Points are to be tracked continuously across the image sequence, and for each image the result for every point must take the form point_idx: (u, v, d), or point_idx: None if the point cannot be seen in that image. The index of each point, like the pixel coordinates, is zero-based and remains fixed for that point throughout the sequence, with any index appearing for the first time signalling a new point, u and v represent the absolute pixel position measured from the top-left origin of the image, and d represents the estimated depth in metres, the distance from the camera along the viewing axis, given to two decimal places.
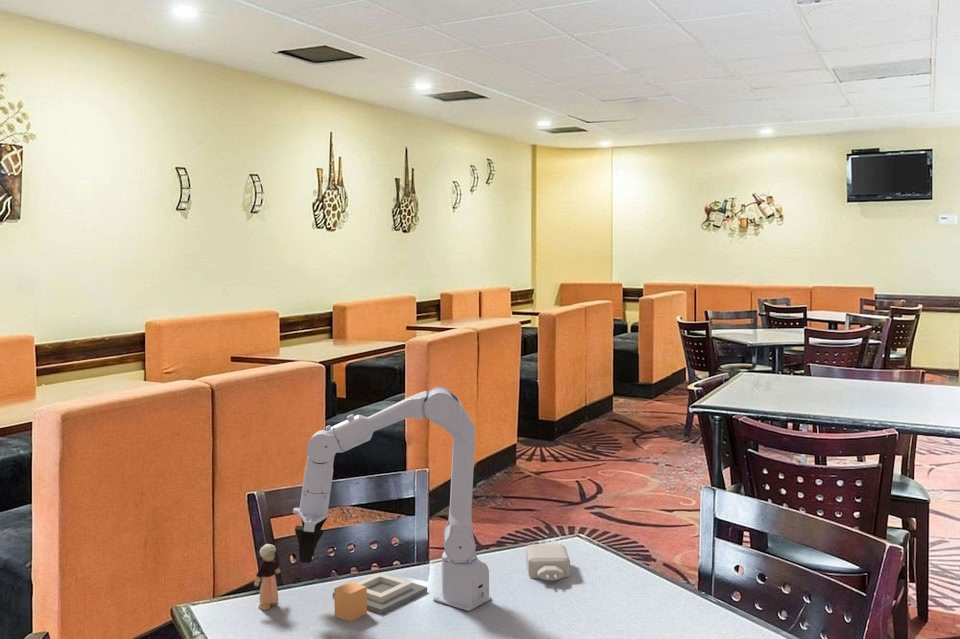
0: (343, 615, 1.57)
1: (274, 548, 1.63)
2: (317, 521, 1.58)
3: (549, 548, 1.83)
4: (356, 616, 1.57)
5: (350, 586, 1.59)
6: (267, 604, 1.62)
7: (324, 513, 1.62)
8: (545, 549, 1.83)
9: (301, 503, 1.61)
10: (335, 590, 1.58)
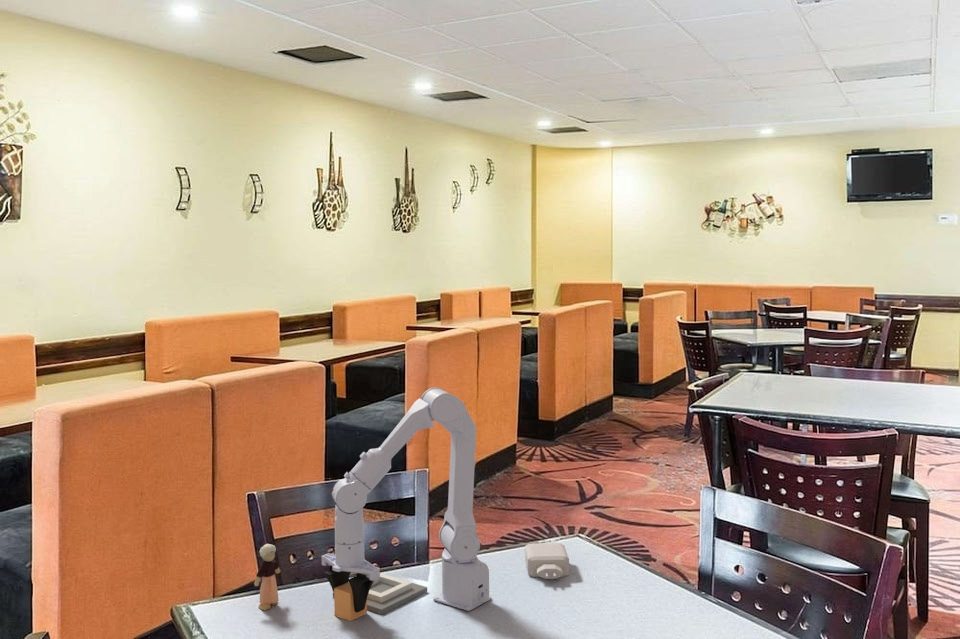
0: (343, 615, 1.57)
1: (274, 548, 1.63)
2: None
3: (548, 547, 1.84)
4: (356, 616, 1.57)
5: (350, 586, 1.59)
6: (267, 604, 1.62)
7: None
8: (544, 548, 1.84)
9: (345, 558, 1.56)
10: (335, 590, 1.58)
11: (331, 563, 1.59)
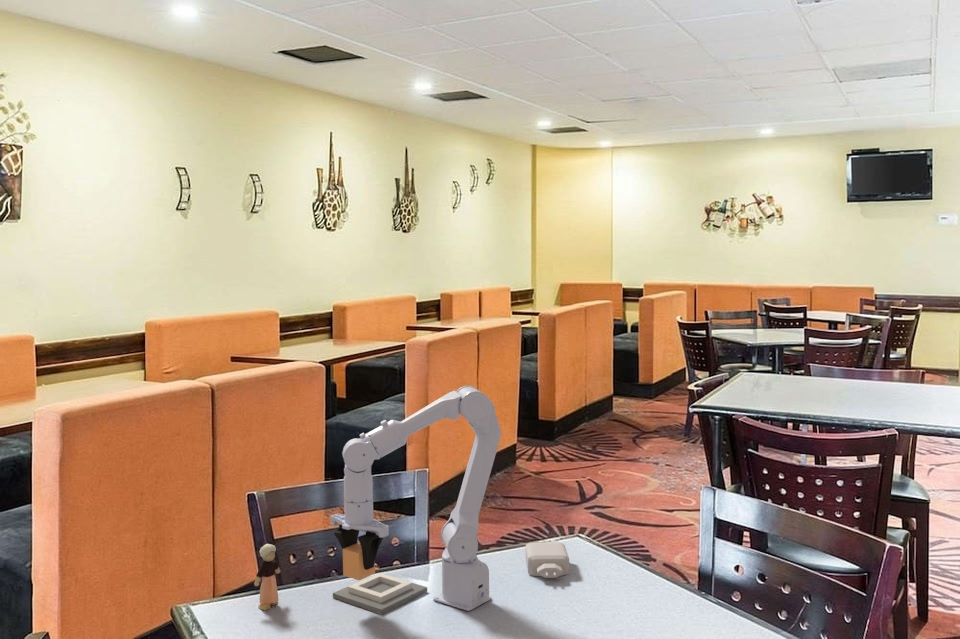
0: (352, 574, 1.59)
1: (274, 548, 1.63)
2: None
3: (548, 546, 1.85)
4: (365, 575, 1.60)
5: (358, 547, 1.62)
6: (267, 604, 1.62)
7: None
8: (544, 547, 1.84)
9: (354, 516, 1.58)
10: (343, 550, 1.60)
11: (340, 522, 1.61)
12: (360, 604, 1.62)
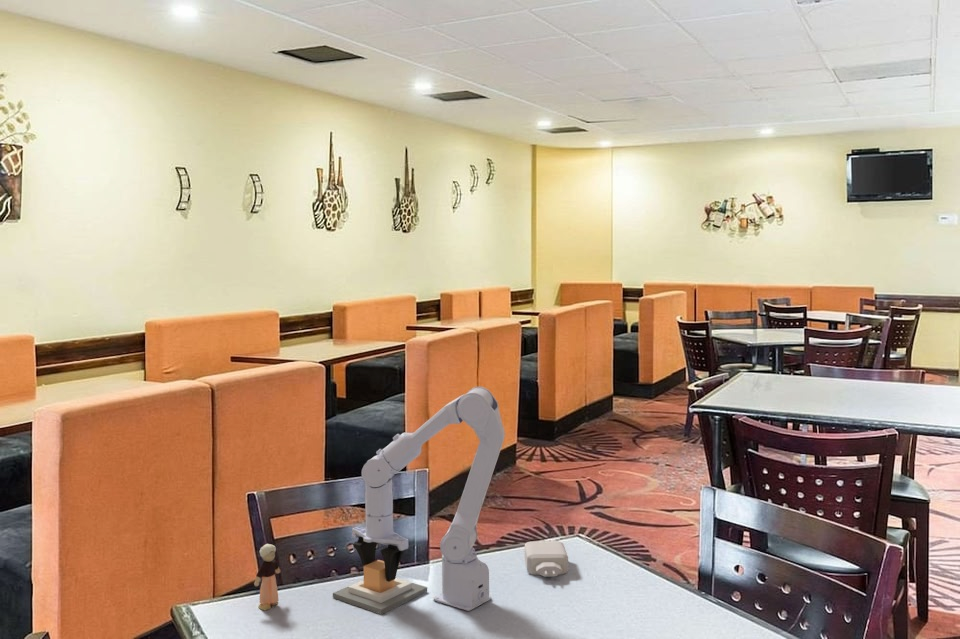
0: None
1: (274, 548, 1.63)
2: None
3: (547, 545, 1.85)
4: None
5: (378, 564, 1.69)
6: (267, 604, 1.62)
7: None
8: (543, 546, 1.85)
9: (375, 530, 1.65)
10: (364, 567, 1.67)
11: (362, 535, 1.68)
12: (360, 604, 1.62)
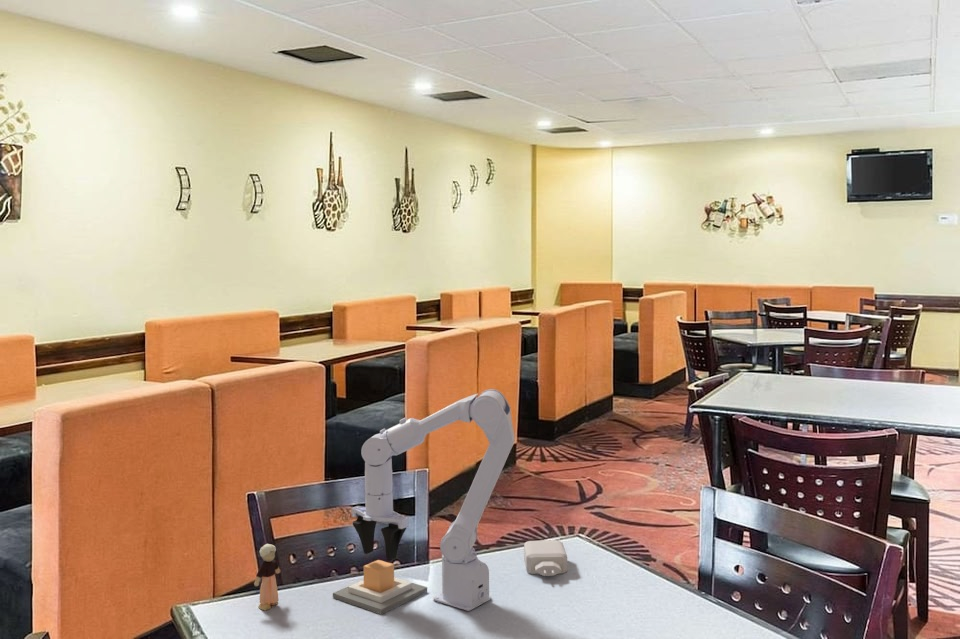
0: None
1: (274, 548, 1.63)
2: None
3: (547, 545, 1.86)
4: None
5: (378, 564, 1.69)
6: (267, 604, 1.62)
7: None
8: (543, 545, 1.85)
9: (375, 508, 1.65)
10: (364, 567, 1.67)
11: (361, 514, 1.68)
12: (360, 604, 1.62)
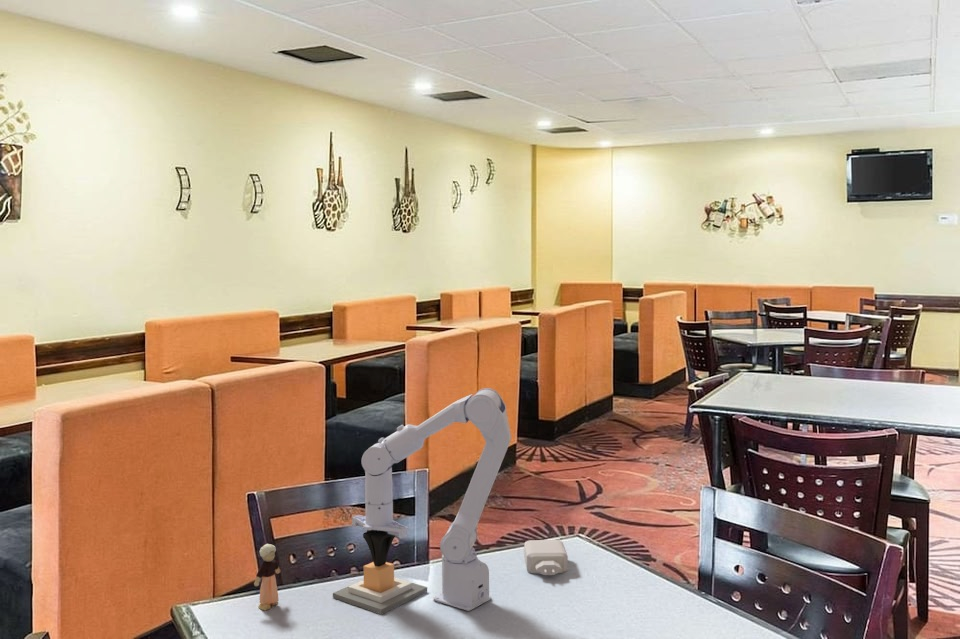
0: None
1: (274, 548, 1.63)
2: None
3: (547, 544, 1.86)
4: None
5: None
6: (267, 604, 1.62)
7: None
8: (543, 545, 1.86)
9: (375, 518, 1.65)
10: (364, 567, 1.67)
11: (361, 523, 1.68)
12: (360, 604, 1.62)
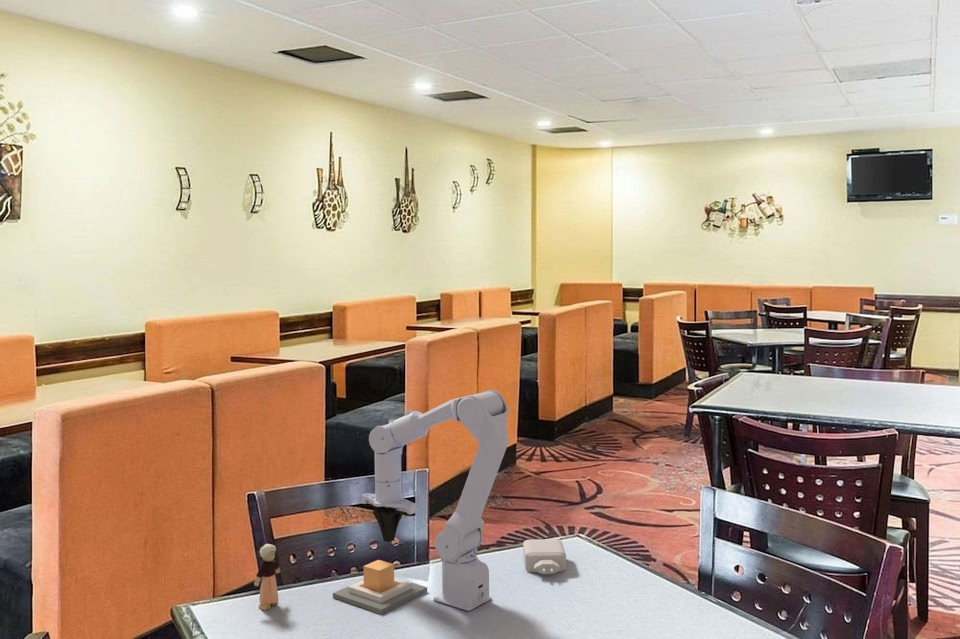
0: None
1: (274, 548, 1.63)
2: None
3: (546, 543, 1.87)
4: None
5: (378, 564, 1.69)
6: (267, 604, 1.62)
7: None
8: (542, 544, 1.86)
9: (384, 495, 1.71)
10: (364, 567, 1.67)
11: (371, 500, 1.74)
12: (360, 604, 1.62)
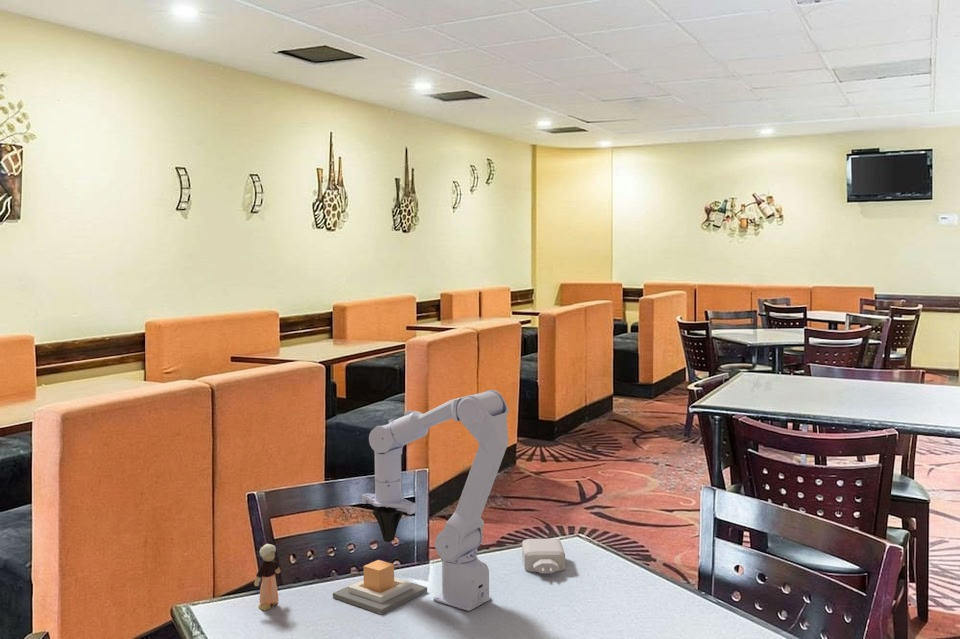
0: None
1: (274, 548, 1.63)
2: None
3: (545, 543, 1.87)
4: None
5: (378, 564, 1.69)
6: (267, 604, 1.62)
7: None
8: (541, 543, 1.87)
9: (384, 495, 1.71)
10: (364, 567, 1.67)
11: (371, 500, 1.74)
12: (360, 604, 1.62)
